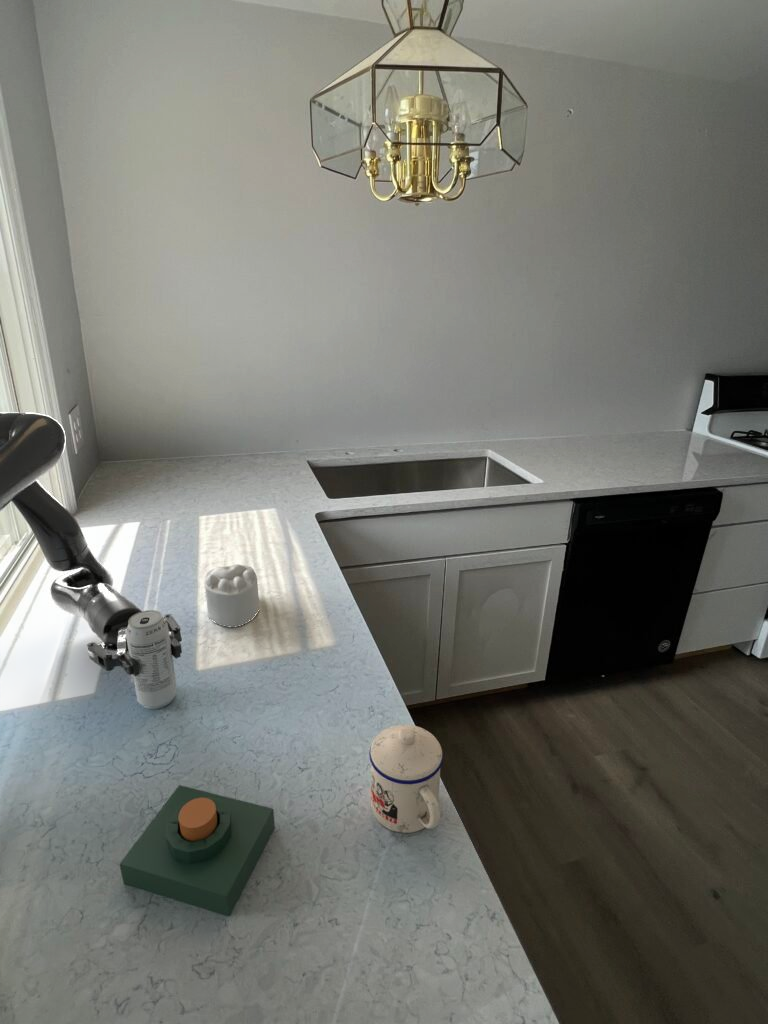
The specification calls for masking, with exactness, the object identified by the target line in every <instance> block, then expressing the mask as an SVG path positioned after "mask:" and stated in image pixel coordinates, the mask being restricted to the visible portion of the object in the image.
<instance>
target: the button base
mask: <svg viewBox="0 0 768 1024" xmlns="http://www.w3.org/2000/svg"><path fill="white" fill-rule="evenodd" d="M197 798H208V799H210V800H212V801H213V802H214V803H215V806H216V813H217V826H216V828H215V830H214V832H213V833H212V834H211V835H210V836H208V837H207V838H205V839H203V840H199V841H189V840H186V839H185V838H184V837H183V836H182V834H181V830H180V824H179V813H180V811H181V809H182V808H183V806H184V805H185V804H187V803H188V802H189V801H191V800H193V799H197ZM274 812H275V811H274V808H273V807H268V806H264V805H262V804H261V805H260V804H256V803H252V802H248V801H245V800H241V799H236V798H233V797H229V796H224V795H221V794H217V793H213V792H209V791H204V790H201V789H197V788H193V787H190V786H185V785H181V784H179V785H178V786H177V787H176V788H175V790H174V791H173V793H172V794H171V795H170V796H169V798H168V799H167V800H166V801H165V803H164V804H163V806H162V807H161V808H160V810H159V811H158V813H156V815H155V816H154V818H153V819H152V820H151V821H150V823H149V824H148V825H147V826H146V828H145V829H144V831H143V832H142V833H141V835H140V836H139V837H138V839H137V840H136V841H135V842H134V844H133V845H132V847H131V848H130V849H129V851H128V852H127V853H126V854H125V856H124V857H123V859H121V861H120V862H119V868H120V874H121V877H122V882H123V885H125V886H128V887H132V888H134V889H138V890H142V891H145V892H147V893H151V894H154V895H156V896H157V895H158V896H160V897H164V898H167V899H170V900H173V901H177V902H180V903H183V904H185V905H186V904H187V905H190V906H193V907H197V908H199V909H204V910H207V911H209V912H212V913H216V914H219V915H221V916H225V917H228V918H229V917H230V916H231V914H232V912H233V910H234V908H235V907H236V905H237V902H238V900H239V899H240V897H241V895H242V893H243V891H244V889H245V888H246V885H247V883H248V882H249V879H250V878H251V875H252V874H253V872H254V869H255V868H256V865H257V864H258V862H259V860H260V858H261V856H262V854H263V852H264V850H265V848H266V846H267V844H268V842H269V840H270V839H271V836H272V834H273V833H274V830H275V829H276V826H275V825H276V824H275V823H276V822H275V813H274Z"/></svg>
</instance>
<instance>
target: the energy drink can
mask: <svg viewBox="0 0 768 1024" xmlns="http://www.w3.org/2000/svg"><path fill="white" fill-rule="evenodd" d="M141 611H142V610H141ZM126 638H127V644H128V650H129V655H130V656H131V657H132V658H133V659H134V660H135V661H136V662H137V663H138V666H139V672H140V674H139V675H137V676H134V675H133V674H132V678H133V683H134V688H135V694H136V700H137V703H139V705H141V706H142V707H143V708H145V709H147V710H157V709H161V708H164V707H166V706H168V705H169V704H170V703H172V701H173V700H174V699H175V696H176V695H177V692H178V686H177V679H176V673H175V665H174V659H173V658H174V657H173V655H172V651H171V644H170V637H169V630H168V623H167V622H166V620H165V619H164V616H163V614H162V613H161V612H160V611H158V610H143V611H142V612H139V613H137V614H135V615H133V616H132V617H130V619H129V620H128V627H127V629H126Z"/></svg>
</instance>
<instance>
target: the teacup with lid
mask: <svg viewBox="0 0 768 1024" xmlns="http://www.w3.org/2000/svg"><path fill="white" fill-rule="evenodd" d="M368 754H369V760H370V807H371V811H372V814H373V815H374V817H375V819H376V820H377V821H378V822H379V824H381V825H382V827H385V828H387V829H388V830H390V831H393V832H397V833H403V834H410V833H415V832H419V831H421V830H424V829H425V828H426V829H428V830H429V829H430V830H431V829H434V828H436V827H437V826H438V825H439V824H440V821H441V809H440V806H439V796H440V781H441V767H442V765H443V762H444V753H443V749H442V746H441V744H440V742H439V740H438V739H437V738H436V736H434V734H432V733H431V732H430V731H428V730H427V729H425V728H422V727H420V726H417V725H412V724H397V725H396V724H395V725H392V726H389V727H387V728H384V729H383V730H382V731H380V732H379V733H378V734H377V735H376V736H375V738H374V739H373V741H372V743H371V745H370V747H369V752H368Z"/></svg>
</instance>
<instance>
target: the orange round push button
mask: <svg viewBox="0 0 768 1024" xmlns="http://www.w3.org/2000/svg"><path fill="white" fill-rule="evenodd" d="M179 824H180V830H181V834H182V836H183V837H184V838H185V839H186V840H189V841H199V840H203V839H205V838H207V837H208V836H210V835H211V834H212V833H213V832H214V830H215V828H216V826H217V813H216V806H215V803H214V802H213V801H212V800H210V799H208V798H197V799H193V800H191V801H189V802H188V803H187V804H185V805H184V806H183V808H182V809H181V811H180V813H179Z"/></svg>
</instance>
